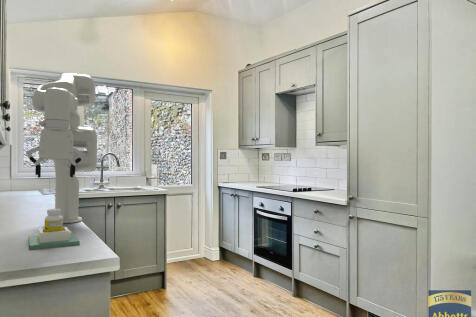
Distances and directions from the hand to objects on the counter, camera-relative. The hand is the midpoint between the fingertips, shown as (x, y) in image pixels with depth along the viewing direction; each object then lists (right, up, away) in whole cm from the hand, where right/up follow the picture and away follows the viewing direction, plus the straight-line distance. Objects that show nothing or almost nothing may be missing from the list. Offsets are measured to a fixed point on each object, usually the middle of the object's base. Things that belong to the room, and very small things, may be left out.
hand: (55, 177), depth 118 cm
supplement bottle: (0, -21, -1) cm, 21 cm away
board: (-1, -22, 0) cm, 22 cm away
